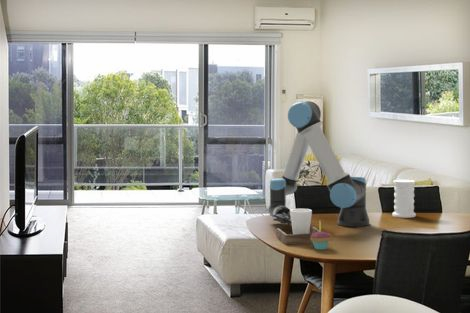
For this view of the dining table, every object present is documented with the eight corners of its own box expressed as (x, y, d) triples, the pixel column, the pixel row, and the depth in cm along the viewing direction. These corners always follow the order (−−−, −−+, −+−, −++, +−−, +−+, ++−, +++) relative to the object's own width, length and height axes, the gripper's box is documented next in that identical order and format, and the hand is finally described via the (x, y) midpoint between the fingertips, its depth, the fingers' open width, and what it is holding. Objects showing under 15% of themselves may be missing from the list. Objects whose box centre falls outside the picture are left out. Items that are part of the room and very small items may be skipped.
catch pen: (276, 237, 329) (276, 228, 329) (313, 235, 333) (313, 226, 332) (285, 244, 314) (285, 235, 313) (324, 242, 317) (324, 233, 316)
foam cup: (286, 240, 322) (285, 210, 321) (297, 236, 330) (297, 207, 328) (304, 243, 317) (304, 212, 315) (315, 239, 324) (315, 209, 323)
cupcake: (308, 246, 309) (308, 218, 308) (328, 246, 310) (328, 217, 309) (312, 251, 301) (312, 221, 300) (333, 250, 302) (333, 221, 300)
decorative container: (392, 217, 375) (392, 182, 374) (392, 213, 387) (392, 179, 385) (415, 218, 373) (416, 182, 371) (415, 214, 384) (415, 179, 382)
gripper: (296, 221, 352) (309, 231, 328) (269, 222, 349) (281, 232, 326) (296, 205, 351) (309, 214, 328) (269, 207, 349) (281, 215, 326)
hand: (295, 223), depth 327 cm, fingers closed
